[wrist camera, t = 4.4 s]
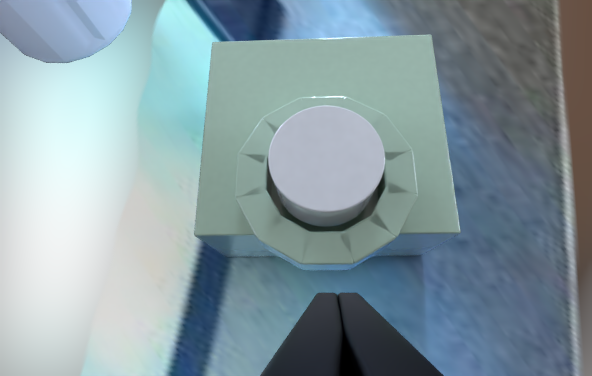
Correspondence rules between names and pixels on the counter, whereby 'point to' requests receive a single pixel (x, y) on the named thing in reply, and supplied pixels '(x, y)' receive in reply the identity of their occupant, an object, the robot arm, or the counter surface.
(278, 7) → the counter surface
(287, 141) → the flush button
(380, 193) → the push button box
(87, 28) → the soap bottle
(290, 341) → the robot arm
